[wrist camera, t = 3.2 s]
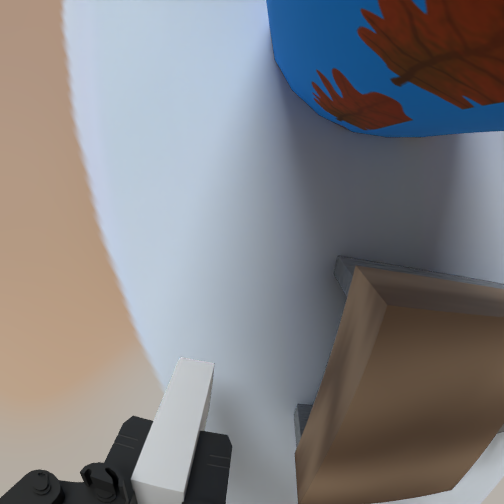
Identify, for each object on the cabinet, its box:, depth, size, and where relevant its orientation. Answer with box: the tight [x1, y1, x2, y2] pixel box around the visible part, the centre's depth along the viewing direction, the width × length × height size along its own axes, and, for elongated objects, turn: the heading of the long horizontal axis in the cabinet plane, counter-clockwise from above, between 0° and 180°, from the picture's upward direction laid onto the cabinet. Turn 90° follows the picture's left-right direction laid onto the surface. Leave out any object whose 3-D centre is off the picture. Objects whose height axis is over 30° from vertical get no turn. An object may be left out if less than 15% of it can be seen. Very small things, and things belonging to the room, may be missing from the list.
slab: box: [295, 265, 504, 504], centre depth 13 cm, size 12×10×4 cm
